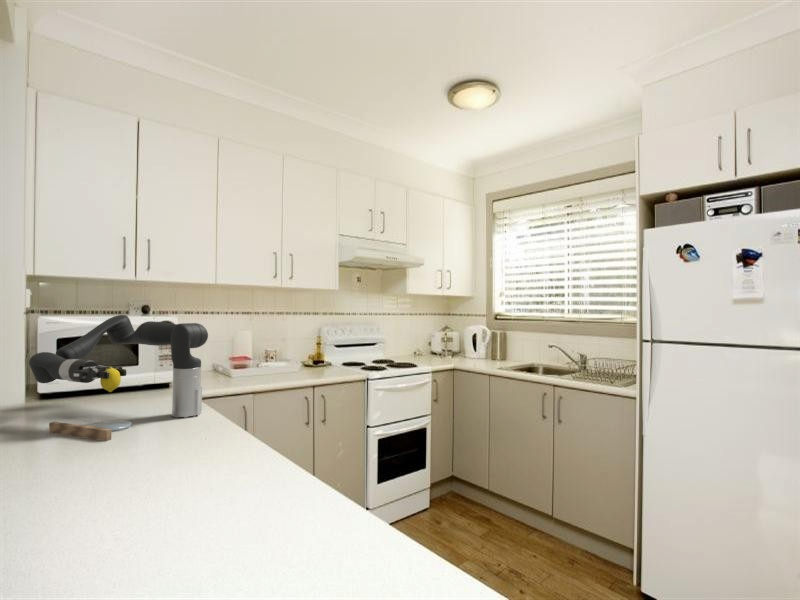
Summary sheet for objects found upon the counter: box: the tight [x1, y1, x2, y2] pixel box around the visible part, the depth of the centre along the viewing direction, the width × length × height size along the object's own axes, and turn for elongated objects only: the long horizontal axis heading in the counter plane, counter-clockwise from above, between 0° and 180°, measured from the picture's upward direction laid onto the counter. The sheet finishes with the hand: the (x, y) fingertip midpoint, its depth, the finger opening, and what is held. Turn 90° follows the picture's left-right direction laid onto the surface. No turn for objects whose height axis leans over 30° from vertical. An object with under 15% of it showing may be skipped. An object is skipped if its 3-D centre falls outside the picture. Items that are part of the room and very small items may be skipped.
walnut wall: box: [48, 421, 113, 442], centre depth 134 cm, size 24×2×3 cm, turn 71°
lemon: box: [99, 367, 122, 393], centre depth 144 cm, size 6×6×8 cm
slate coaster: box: [89, 420, 132, 433], centre depth 143 cm, size 12×12×1 cm
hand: (116, 374), depth 143 cm, fingers closed on lemon, 5 cm apart
